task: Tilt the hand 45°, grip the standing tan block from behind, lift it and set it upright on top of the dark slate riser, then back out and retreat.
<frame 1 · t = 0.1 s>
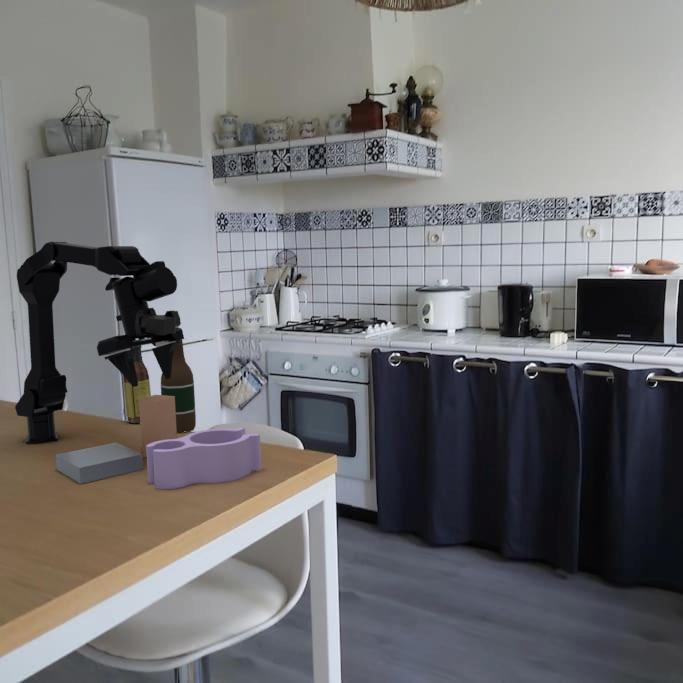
hand: (152, 382, 138), 15 cm above the table, tool pointing down, fingers open, 9 cm apart
slate riser: (99, 469, 133), on the table
sauce bottle: (139, 422, 172), on the table
tan block: (160, 455, 142), on the table
beer bottle: (180, 430, 163), on the table
clip: (204, 476, 128), on the table
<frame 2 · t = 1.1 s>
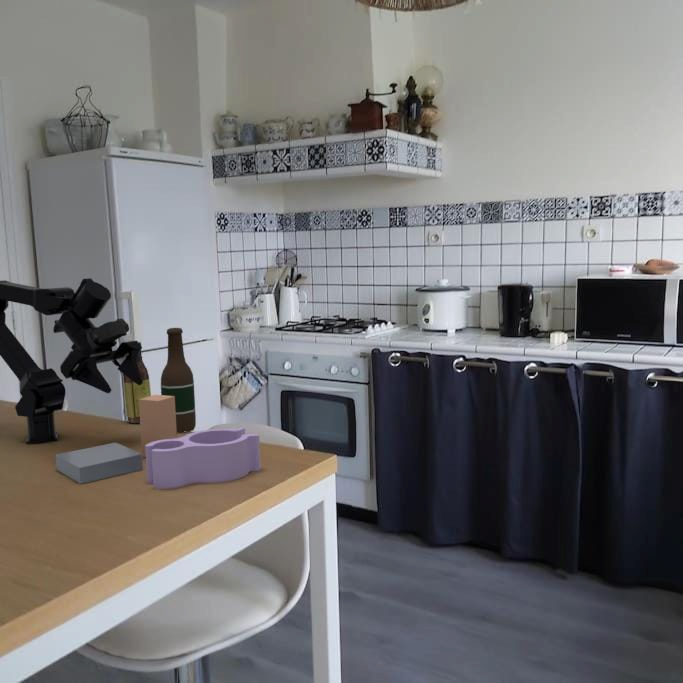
hand: (126, 387, 143), 14 cm above the table, tool tilted 45°, fingers open, 9 cm apart
nothing on the table moved.
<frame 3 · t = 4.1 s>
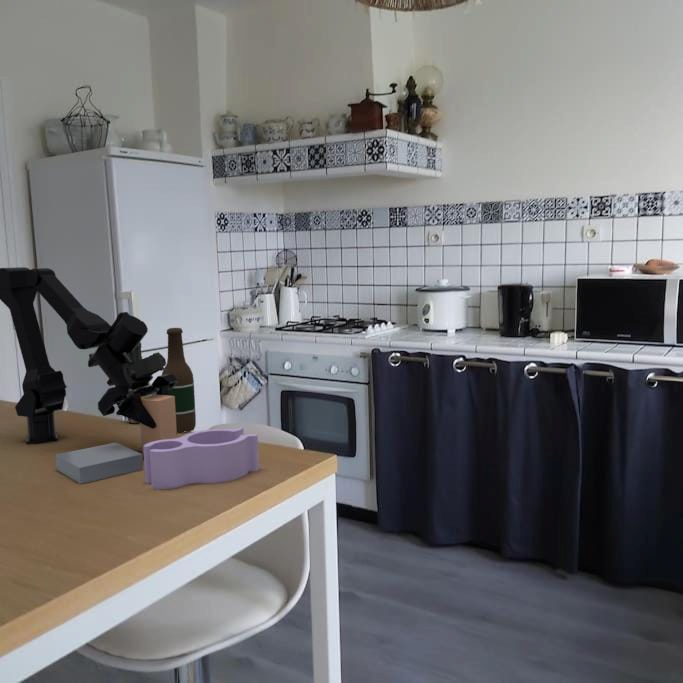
hand: (163, 424, 140), 7 cm above the table, tool tilted 45°, fingers closed on tan block, 5 cm apart
tan block: (160, 455, 142), on the table, touching gripper
everything else where it was.
when the fingers open (11 cm above the table, at t = 8.1 s): tan block drops 1 cm, resting on slate riser.
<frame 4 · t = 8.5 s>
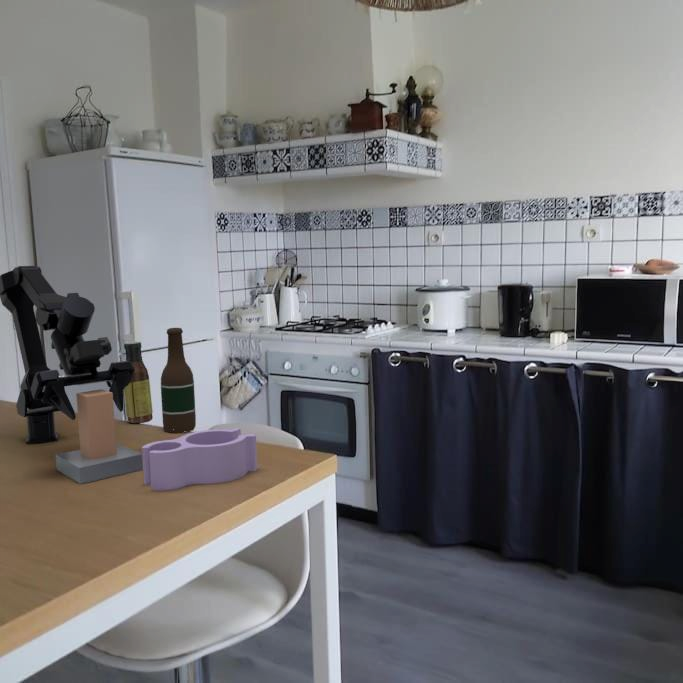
hand: (98, 414, 130), 11 cm above the table, tool tilted 45°, fingers open, 9 cm apart
tan block: (98, 454, 132), point 3 cm above the table, touching slate riser
everything else where it was.
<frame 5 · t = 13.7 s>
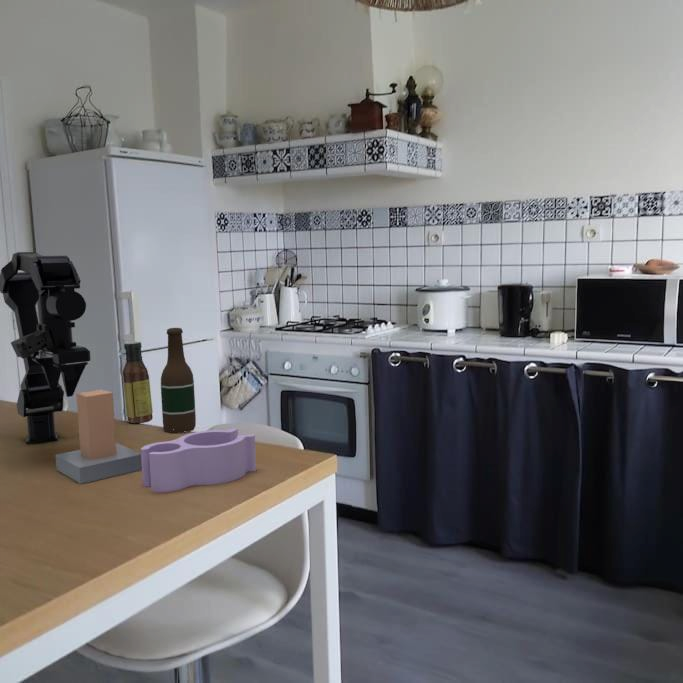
hand: (61, 393, 142), 13 cm above the table, tool pointing down, fingers open, 9 cm apart
at the end: tan block inside the target area on the slate riser (0.0 cm from its centre), point 3.0 cm above the slate riser's base; tan block tilted 0°; the gripper is holding nothing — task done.
